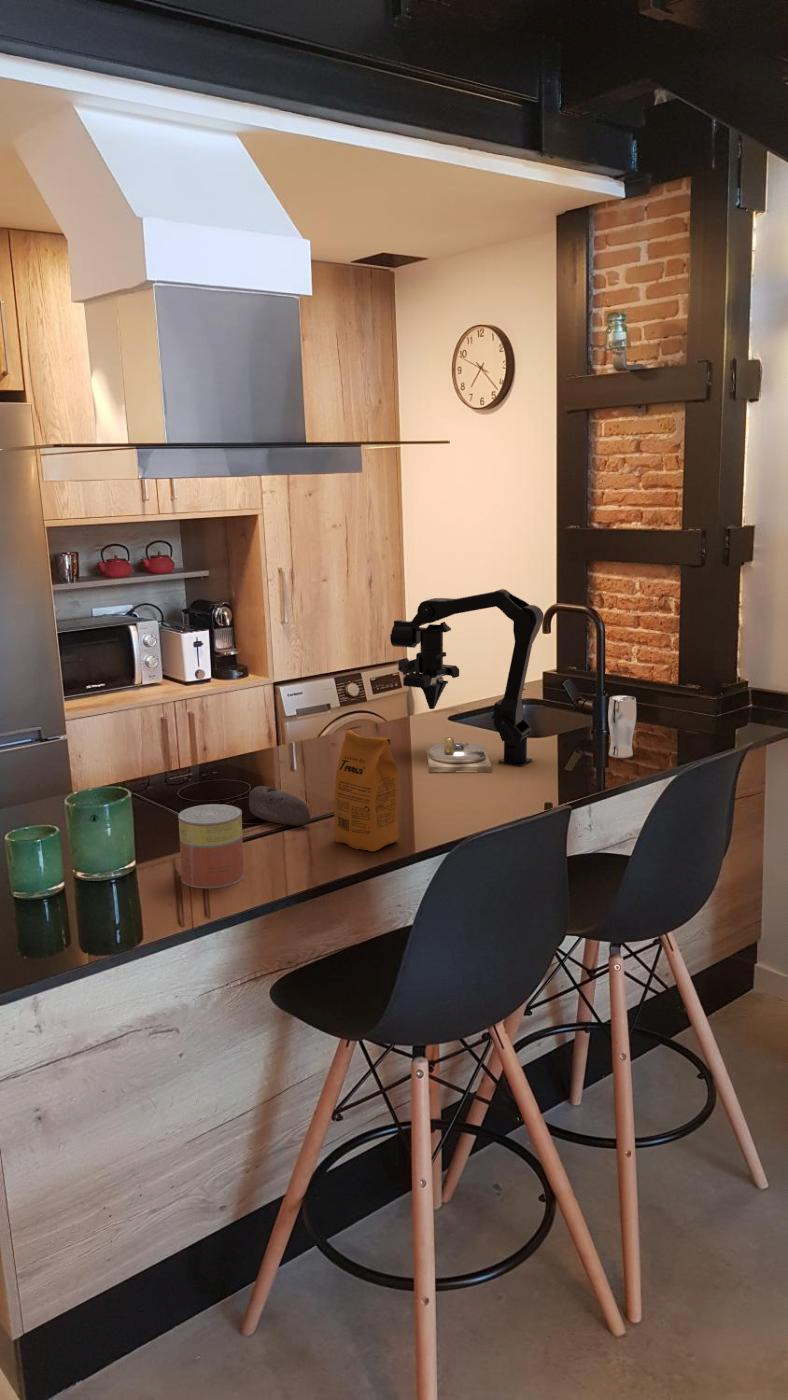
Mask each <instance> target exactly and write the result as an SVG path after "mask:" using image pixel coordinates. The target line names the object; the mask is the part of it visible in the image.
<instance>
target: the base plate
mask: <svg viewBox="0 0 788 1400" xmlns="http://www.w3.org/2000/svg"><path fill="white" fill-rule="evenodd" d="M425 753H426V754H427V755H426V760H428V761H427V766H428V773H429V772H456V771H477V772H476V773H492V764H491V761H490V759H489V756H488V754H487V753H486V757H485V759H483V760H481V761H477V762H472V763H445V762H440V761H436V760H433V759H432V758H430V748H426V752H425Z"/></svg>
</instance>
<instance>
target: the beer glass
mask: <svg viewBox="0 0 788 1400" xmlns="http://www.w3.org/2000/svg"><path fill="white" fill-rule="evenodd" d="M607 711H608V712H607V713H608V715H607V717H608V719H607V721H608V728H609V734H610V746H609V751H608V756H610V757H611V758H616V759H630V758H632V757H633V755H634V753H633V743H632V742H633V737H634V731H635V727H636V722H637V699H636V697H635V696H631V695H623V694H622V695H612V696H610V697H609V701H608V710H607Z"/></svg>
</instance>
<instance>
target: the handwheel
mask: <svg viewBox="0 0 788 1400" xmlns="http://www.w3.org/2000/svg"><path fill="white" fill-rule="evenodd" d="M429 749H430V758H432V759H433V760H436V761H440V762H445V763H472V762H477V761H481V760H483V759H485V757H486V754H487V747H485V746H483V745H481V744H477V743H473V742H464V741H463V742H460V741H455V738H454V737H452V736H448V737H447V736H446V737H445V736H444V738H443V743H441V742H440V743H437V744H434V745H432V746H431V747H429Z"/></svg>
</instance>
